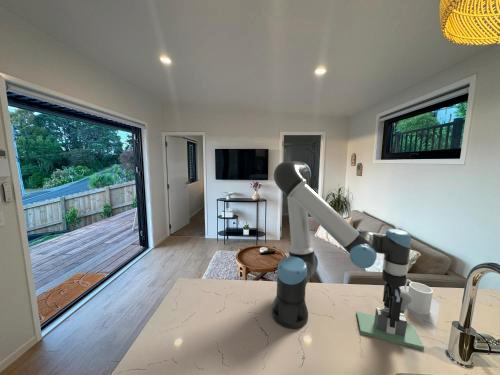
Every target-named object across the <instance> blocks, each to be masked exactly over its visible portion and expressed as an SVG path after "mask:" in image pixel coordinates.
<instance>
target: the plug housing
mask: <svg viewBox="0 0 500 375" xmlns="http://www.w3.org/2000/svg"><path fill="white" fill-rule="evenodd" d="M374 315H375V320H374V322H375V325H376V329H378V330H382V331H386V326H387V316H386V315H388V316H389V310H385V309H384V308H381V307H375V312H374ZM407 323H408V320H407V318H406V316H405V313H404V314H403V313H400V319H399V322H397V321H396V329H395V334H397V335H401V336H405V333H406V326H407Z"/></svg>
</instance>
